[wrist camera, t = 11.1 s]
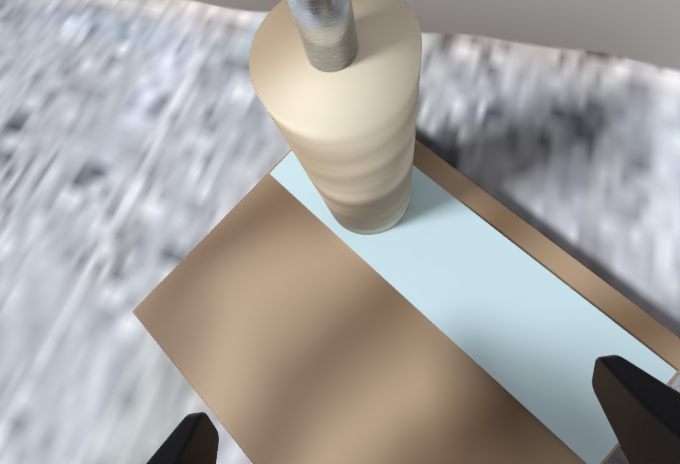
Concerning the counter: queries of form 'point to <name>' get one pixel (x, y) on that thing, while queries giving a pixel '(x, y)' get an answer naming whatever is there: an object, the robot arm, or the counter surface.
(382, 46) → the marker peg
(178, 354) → the subfloor panel
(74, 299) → the counter surface
